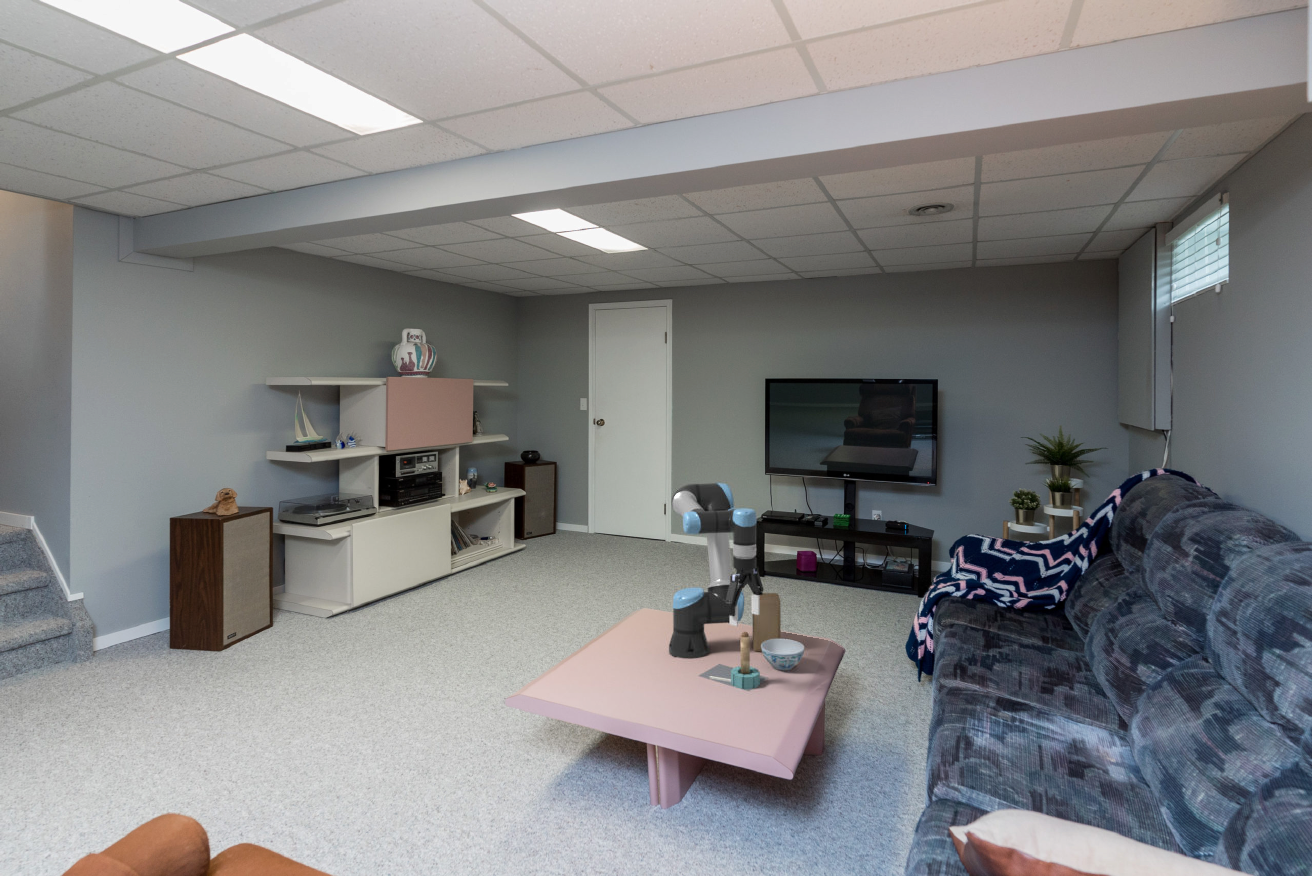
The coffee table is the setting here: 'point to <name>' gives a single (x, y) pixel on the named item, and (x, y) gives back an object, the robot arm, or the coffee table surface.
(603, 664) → the coffee table surface
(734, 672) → the bead
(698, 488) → the robot arm
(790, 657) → the chinaware
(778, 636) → the wooden block
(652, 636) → the coffee table surface
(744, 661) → the wooden rod
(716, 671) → the mat
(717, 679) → the white stick
